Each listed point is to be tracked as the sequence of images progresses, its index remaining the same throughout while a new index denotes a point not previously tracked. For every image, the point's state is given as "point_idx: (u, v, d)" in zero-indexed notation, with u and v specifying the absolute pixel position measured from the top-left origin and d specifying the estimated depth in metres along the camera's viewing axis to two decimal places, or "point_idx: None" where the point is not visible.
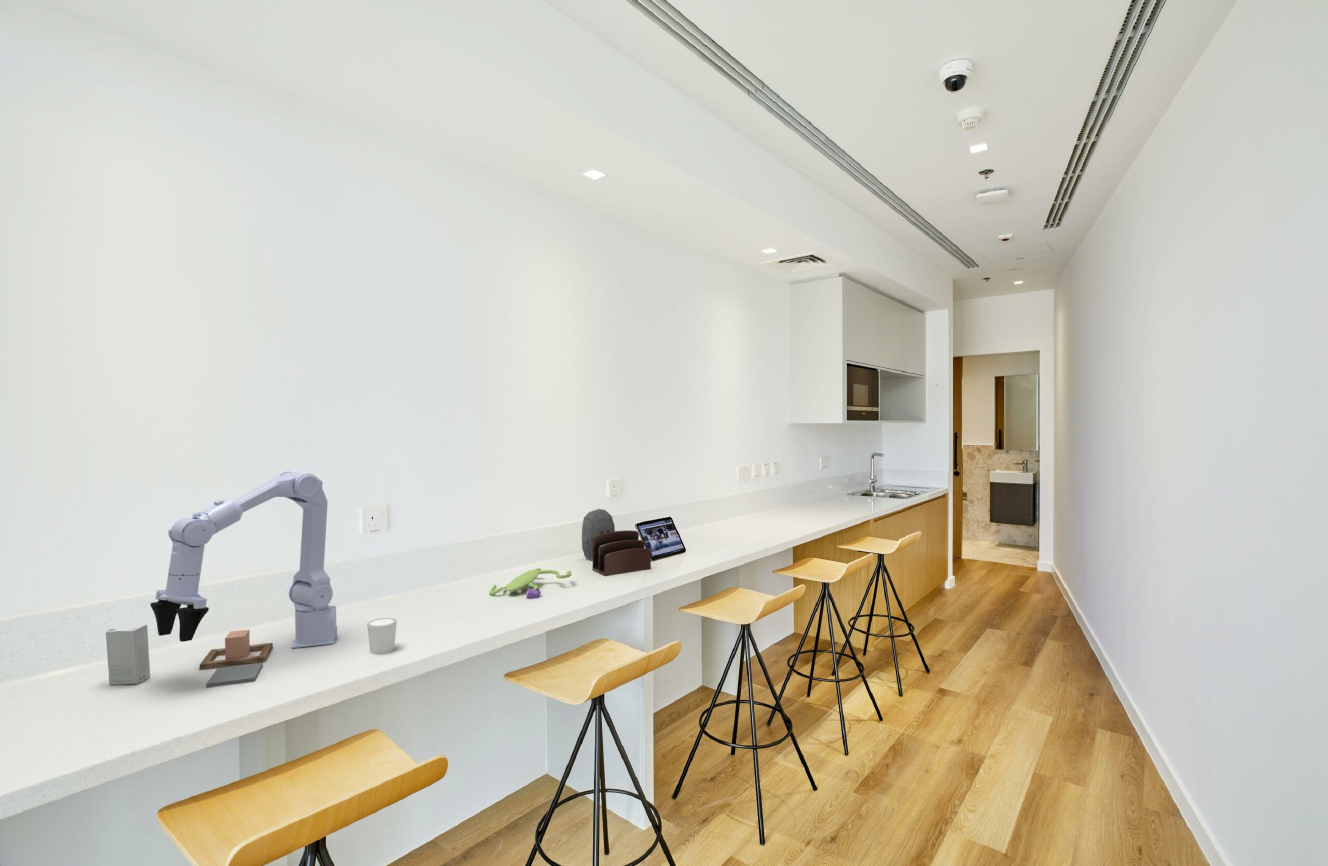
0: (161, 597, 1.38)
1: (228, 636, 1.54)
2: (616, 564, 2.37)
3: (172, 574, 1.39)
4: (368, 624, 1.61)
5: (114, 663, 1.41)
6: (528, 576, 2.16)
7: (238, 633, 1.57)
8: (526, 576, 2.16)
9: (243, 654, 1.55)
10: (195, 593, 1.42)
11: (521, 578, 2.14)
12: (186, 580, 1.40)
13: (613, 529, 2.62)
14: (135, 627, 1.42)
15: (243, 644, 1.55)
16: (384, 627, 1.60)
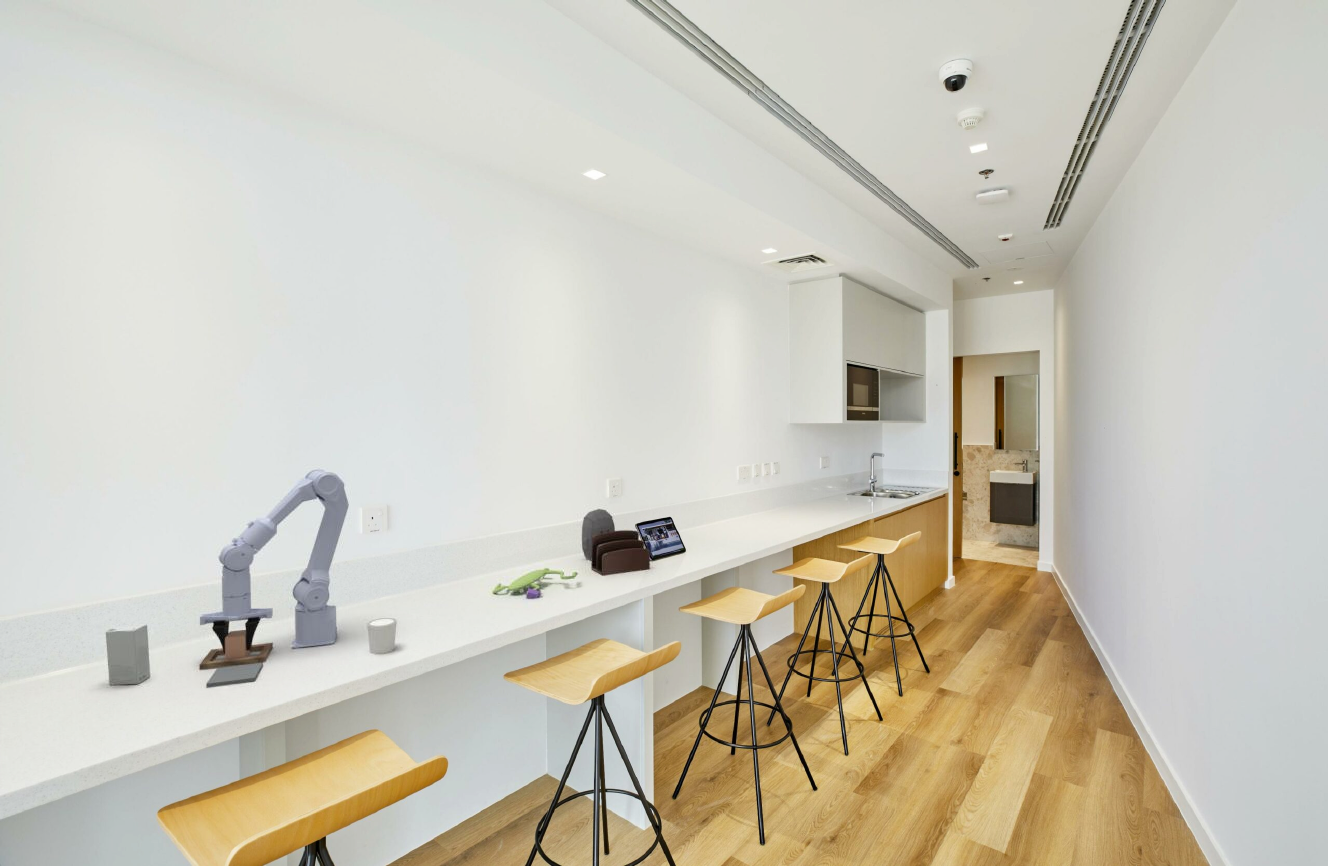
0: (233, 618, 1.53)
1: (228, 636, 1.54)
2: (614, 564, 2.38)
3: (236, 596, 1.54)
4: (368, 624, 1.61)
5: (114, 663, 1.41)
6: (532, 576, 2.16)
7: (238, 632, 1.57)
8: (530, 576, 2.16)
9: (243, 654, 1.55)
10: None
11: (524, 578, 2.15)
12: (248, 598, 1.56)
13: (613, 529, 2.62)
14: (135, 627, 1.42)
15: (243, 644, 1.55)
16: (384, 627, 1.60)
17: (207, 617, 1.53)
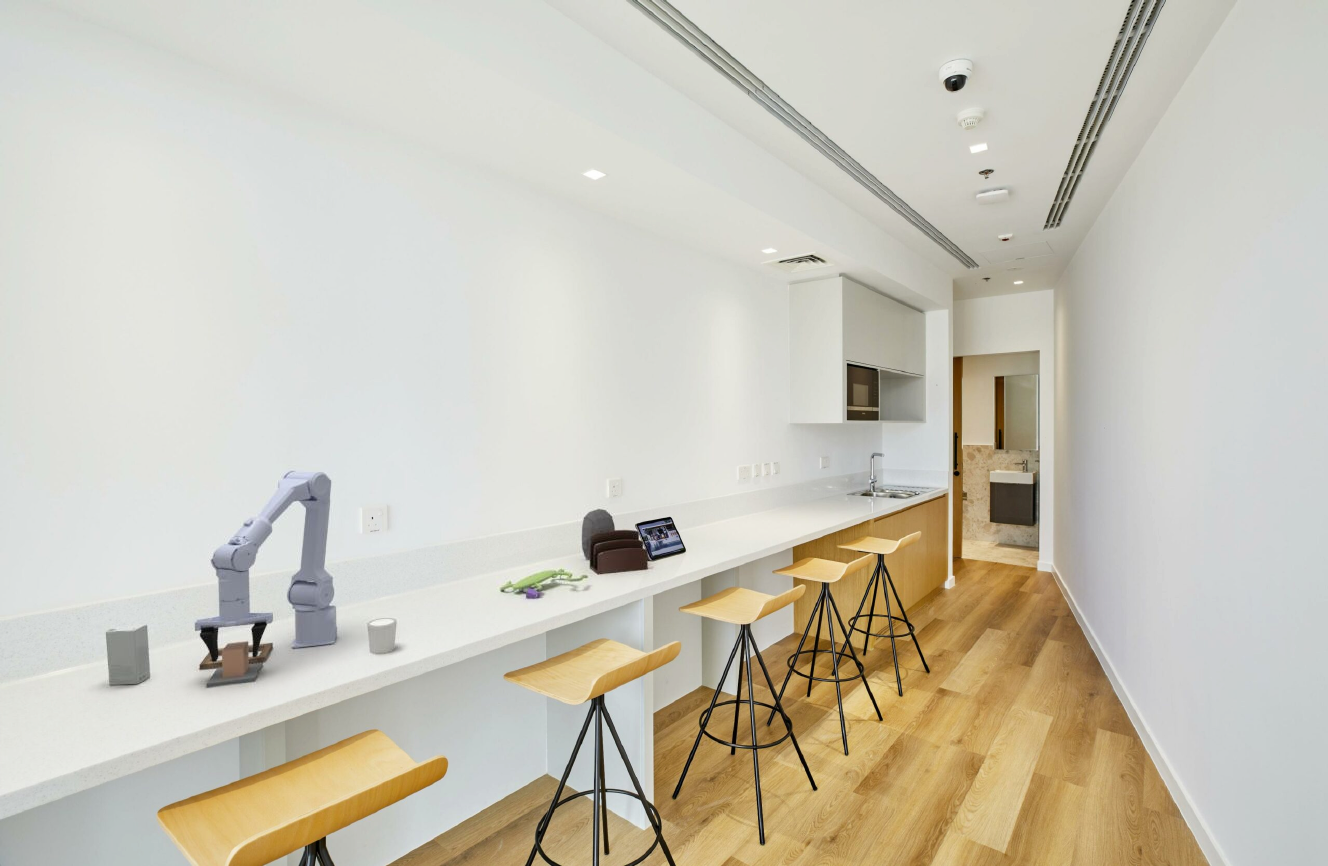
0: (230, 623, 1.42)
1: (226, 649, 1.44)
2: (610, 563, 2.39)
3: (234, 600, 1.43)
4: (368, 624, 1.61)
5: (114, 663, 1.41)
6: (538, 576, 2.16)
7: (236, 645, 1.47)
8: (536, 576, 2.16)
9: (241, 668, 1.45)
10: None
11: (530, 577, 2.15)
12: (247, 602, 1.46)
13: (613, 529, 2.62)
14: (135, 627, 1.42)
15: (241, 657, 1.45)
16: (384, 627, 1.60)
17: (202, 622, 1.43)
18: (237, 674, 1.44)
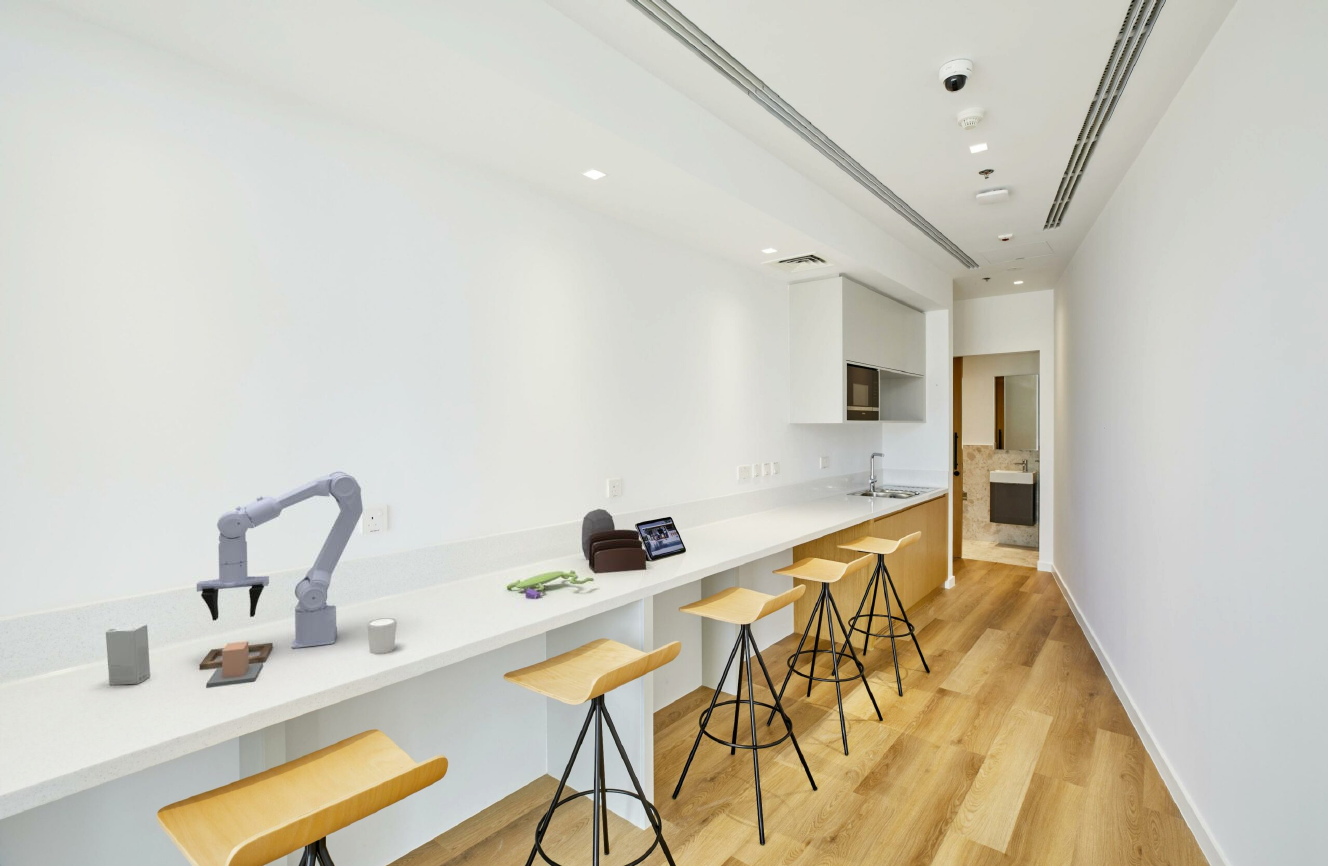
0: (229, 584, 1.54)
1: (226, 649, 1.44)
2: (607, 562, 2.40)
3: (233, 563, 1.55)
4: (368, 624, 1.61)
5: (114, 663, 1.41)
6: (543, 576, 2.16)
7: (236, 645, 1.47)
8: (541, 576, 2.16)
9: (241, 668, 1.45)
10: None
11: (535, 577, 2.15)
12: (245, 565, 1.57)
13: (613, 529, 2.62)
14: (135, 627, 1.42)
15: (241, 657, 1.45)
16: (384, 627, 1.60)
17: (204, 584, 1.54)
18: (237, 674, 1.44)
